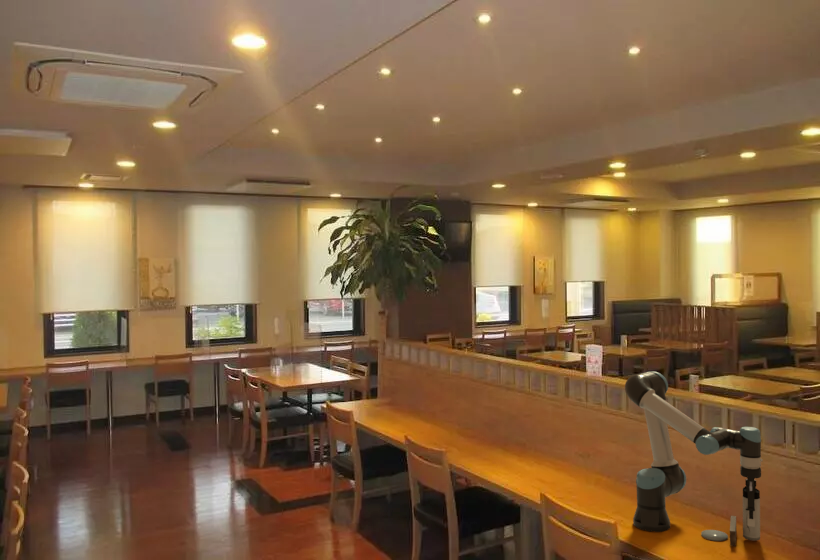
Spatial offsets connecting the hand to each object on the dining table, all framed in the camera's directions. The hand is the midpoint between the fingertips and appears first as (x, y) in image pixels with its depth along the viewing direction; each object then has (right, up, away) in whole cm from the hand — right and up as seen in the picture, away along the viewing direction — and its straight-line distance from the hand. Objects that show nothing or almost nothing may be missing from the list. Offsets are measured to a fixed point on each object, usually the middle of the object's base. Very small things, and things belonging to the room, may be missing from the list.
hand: (751, 523), depth 279 cm
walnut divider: (-5, -7, +4) cm, 10 cm away
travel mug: (0, -6, 0) cm, 6 cm away
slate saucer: (-12, -8, +6) cm, 15 cm away
